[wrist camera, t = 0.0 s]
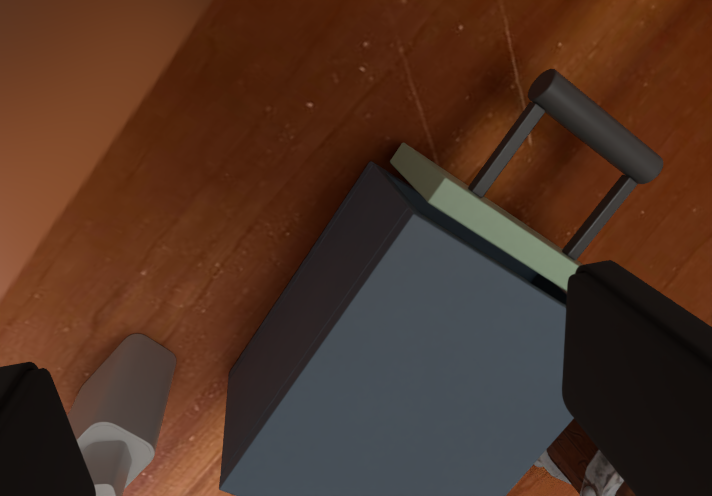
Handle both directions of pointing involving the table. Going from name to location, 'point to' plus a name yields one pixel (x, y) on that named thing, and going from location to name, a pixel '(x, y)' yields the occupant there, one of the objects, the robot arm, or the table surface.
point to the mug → (582, 464)
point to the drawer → (469, 201)
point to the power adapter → (123, 412)
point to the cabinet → (398, 362)
